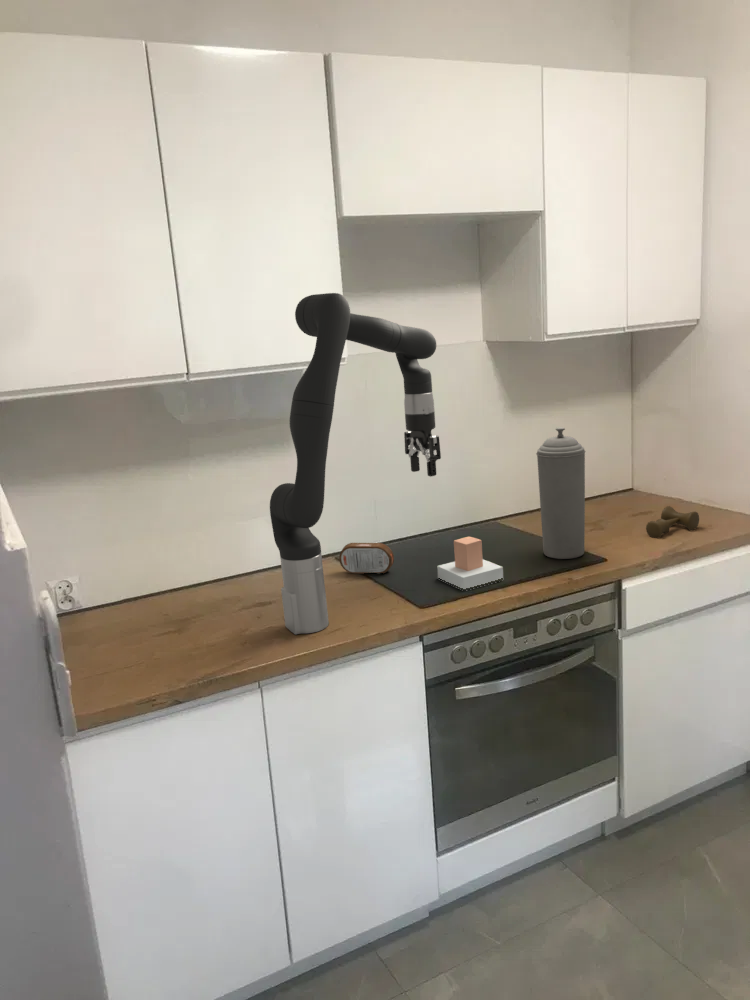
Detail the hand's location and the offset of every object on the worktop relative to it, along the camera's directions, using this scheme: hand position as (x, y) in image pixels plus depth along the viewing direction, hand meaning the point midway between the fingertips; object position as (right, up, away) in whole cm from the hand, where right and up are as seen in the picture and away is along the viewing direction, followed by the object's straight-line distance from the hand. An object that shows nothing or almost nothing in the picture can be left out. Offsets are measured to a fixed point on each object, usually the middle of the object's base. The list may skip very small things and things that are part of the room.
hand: (423, 473), depth 202 cm
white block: (+12, -28, -1) cm, 30 cm away
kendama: (+74, -16, +26) cm, 80 cm away
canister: (+39, -22, +13) cm, 47 cm away
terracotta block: (+12, -24, -2) cm, 27 cm away
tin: (-15, -27, +12) cm, 33 cm away
